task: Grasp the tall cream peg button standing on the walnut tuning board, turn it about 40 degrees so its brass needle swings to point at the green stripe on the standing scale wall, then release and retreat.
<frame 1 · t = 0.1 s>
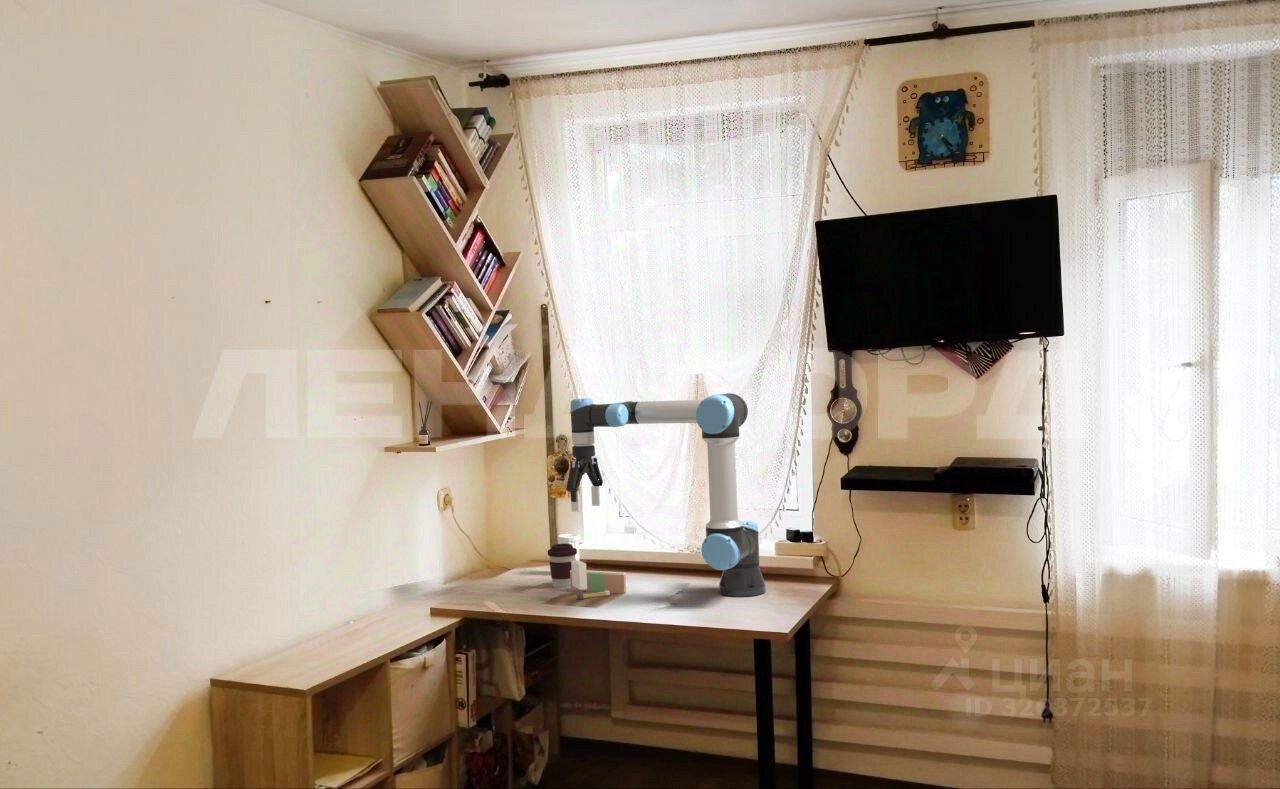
hand: (586, 508, 338), 28 cm above the table, fingers open, 13 cm apart
coffee cup: (563, 589, 345), on the table
cup: (570, 574, 369), on the table
peg button: (592, 579, 324), point 7 cm above the table, hinge at 0.0°
tuning board: (584, 601, 325), on the table
scale wall: (598, 591, 334), resting on tuning board
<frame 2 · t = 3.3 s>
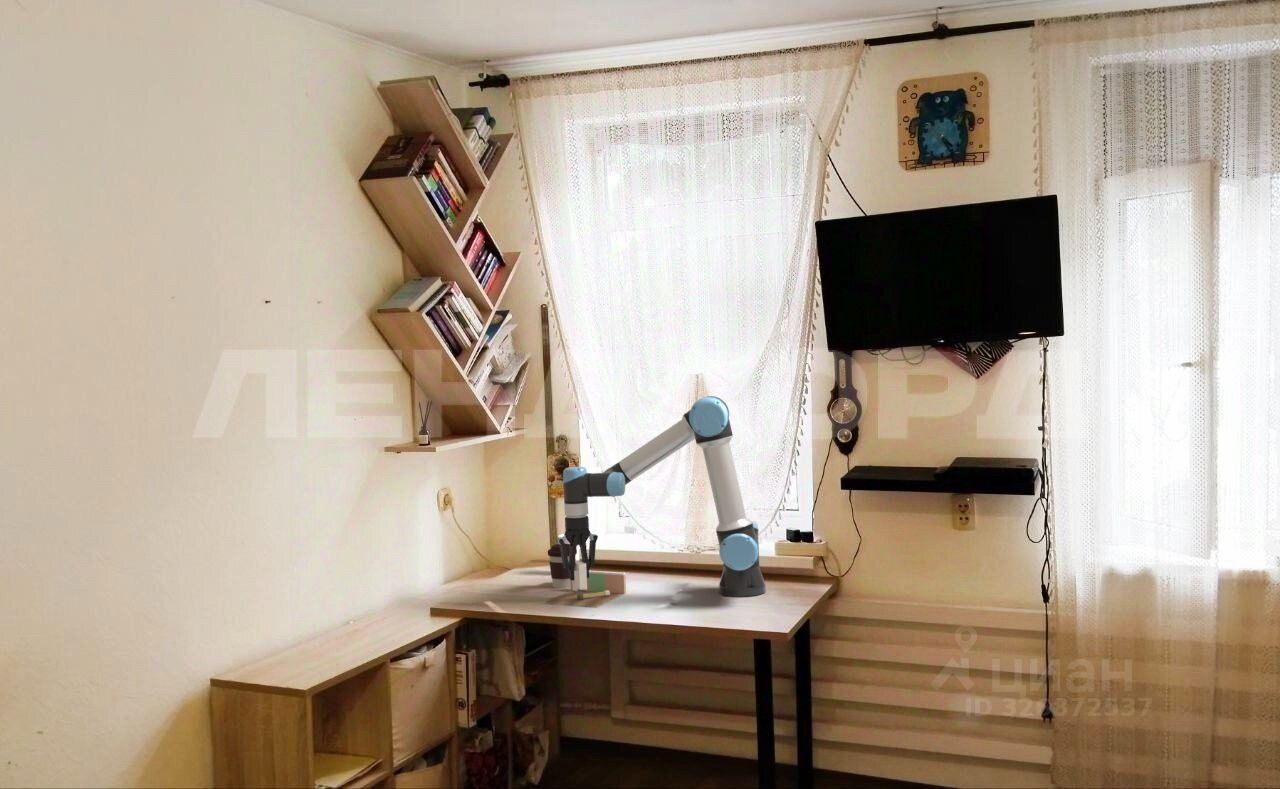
hand: (579, 589, 323), 5 cm above the table, fingers closed on peg button, 2 cm apart
peg button: (592, 579, 324), point 7 cm above the table, hinge at 0.0°, touching gripper
everything else where it was.
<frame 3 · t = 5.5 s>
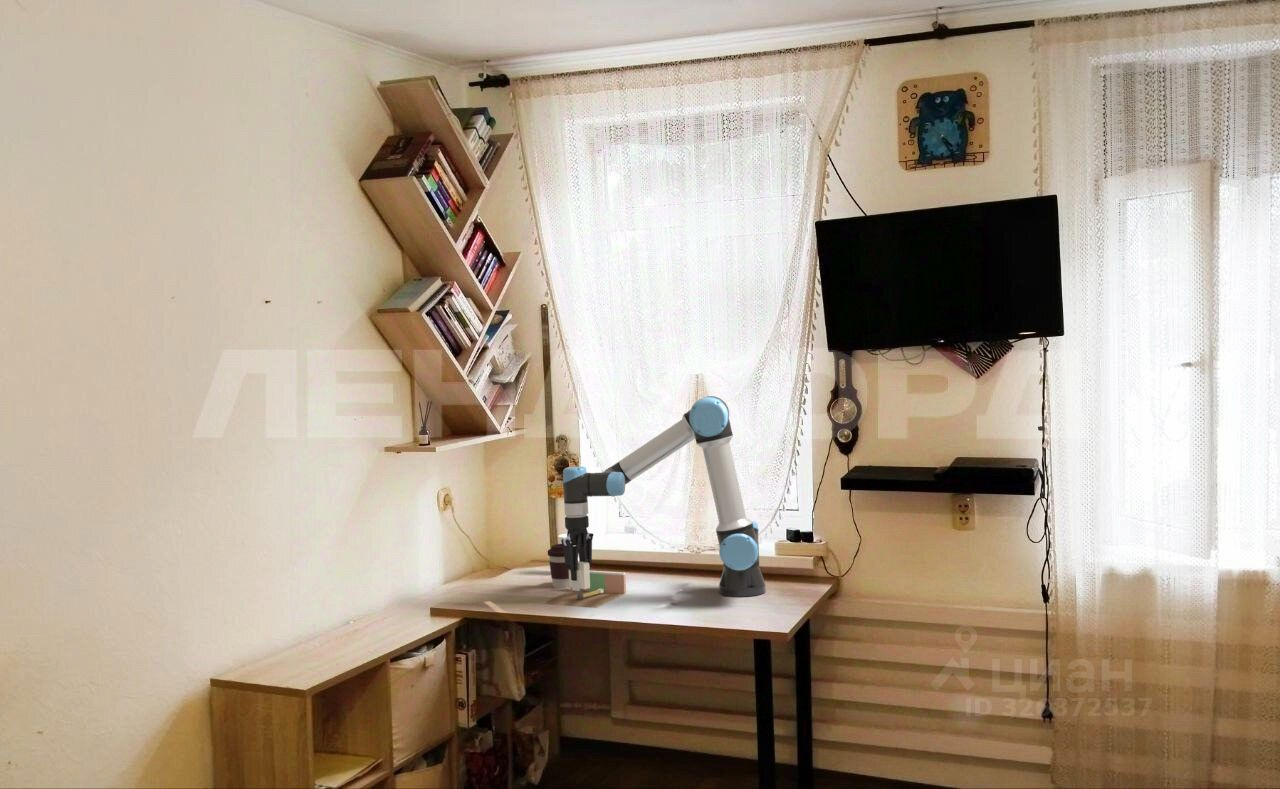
hand: (579, 589, 323), 5 cm above the table, fingers closed on peg button, 3 cm apart
peg button: (589, 578, 326), point 7 cm above the table, hinge at 23.6°, touching gripper
everything else where it was.
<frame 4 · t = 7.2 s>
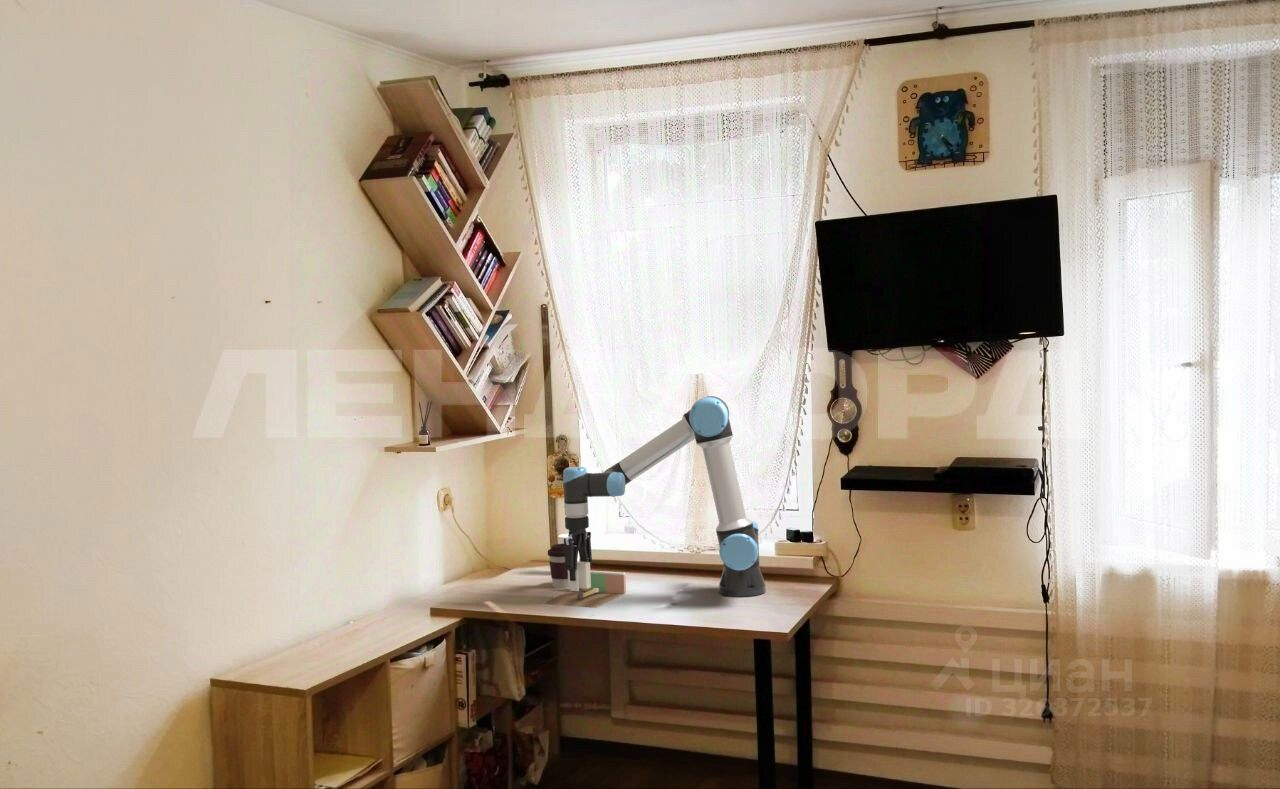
hand: (579, 588, 323), 5 cm above the table, fingers open, 6 cm apart
peg button: (587, 578, 326), point 7 cm above the table, hinge at 35.6°
everything else where it was.
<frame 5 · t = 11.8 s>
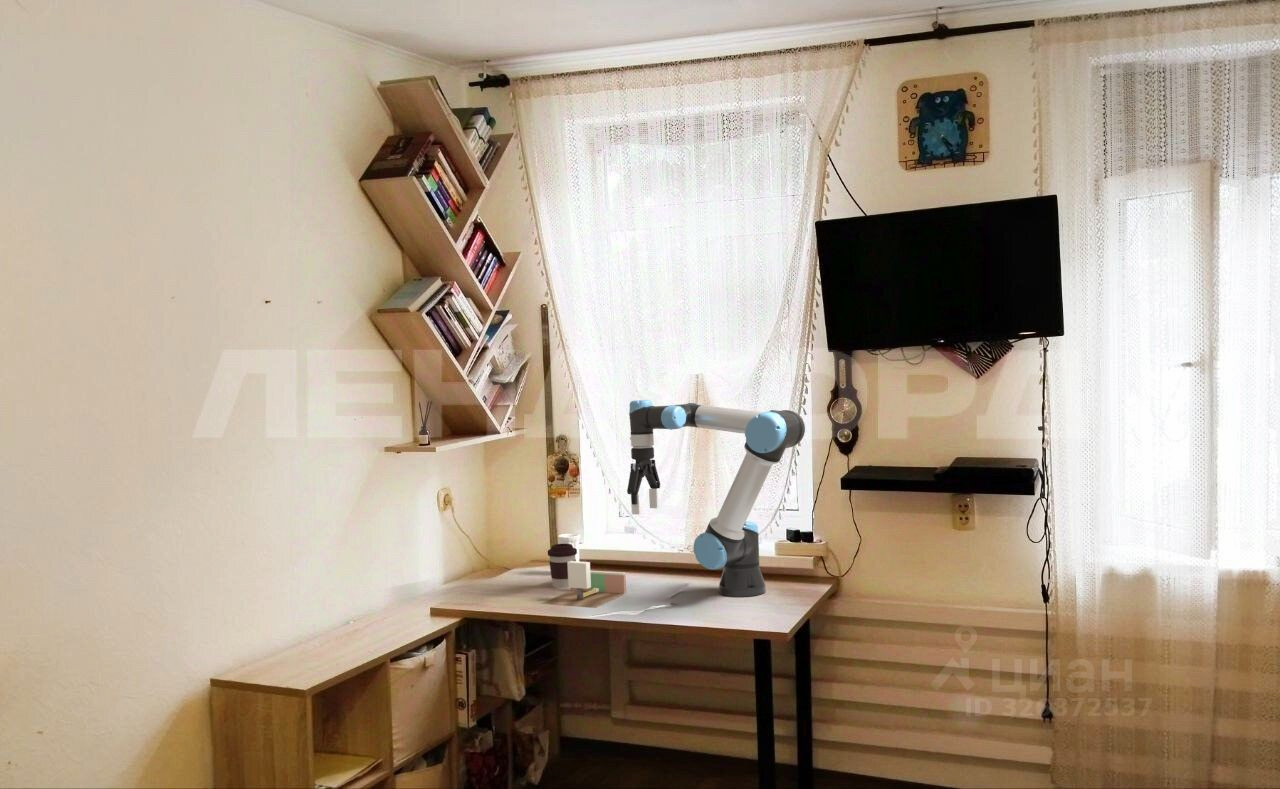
hand: (645, 511, 335), 27 cm above the table, fingers open, 13 cm apart
peg button: (586, 578, 326), point 7 cm above the table, hinge at 35.9°
everything else where it was.
at the end: peg button at +36° (first picture: +0°); the gripper is holding nothing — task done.
